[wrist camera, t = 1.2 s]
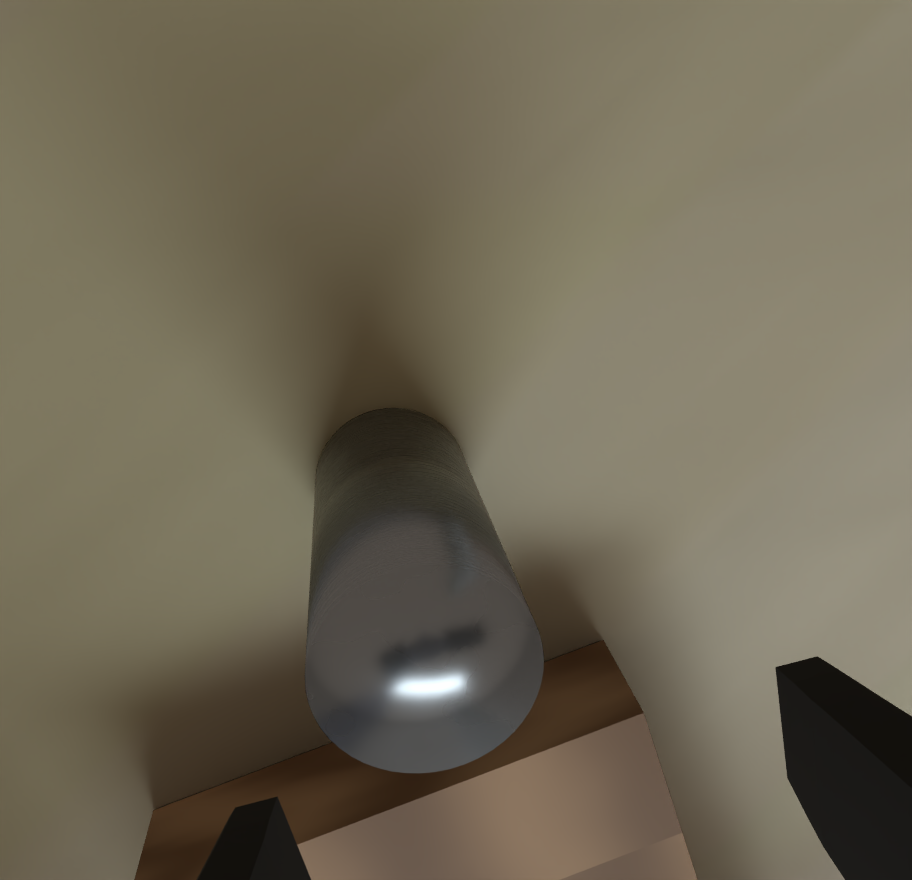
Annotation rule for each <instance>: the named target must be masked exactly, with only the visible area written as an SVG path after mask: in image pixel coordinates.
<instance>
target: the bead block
mask: <svg viewBox="0 0 912 880" xmlns="http://www.w3.org/2000/svg"><path fill="white" fill-rule="evenodd" d="M277 796H278V799H279V801H280V804H281V806H282V809H283V811H284V814H285V816H286V819H287V821H288V824H289V826H290V828H291V831H292V833H293V836H294V838H295V841H296V843H297V846H298V848H299V851H300V853H301V856H302V858H303V861H304V863H305V865H306V868H307V870H308V873H309V875H310V878H311V880H697V877H696V874H695V870H694V867H693V864H692V861H691V858H690V855H689V852H688V849H687V846H686V843H685V839H684V836H683V833H682V830H681V827H680V824H679V821H678V818H677V815H676V812H675V808H674V805H673V802H672V799H671V796H670V793H669V790H668V787H667V784H666V780H665V777H664V774H663V771H662V768H661V765H660V762H659V759H658V756H657V753H656V749H655V746H654V743H653V740H652V737H651V734H650V731H649V728H648V725H647V721H646V718H645V715H644V712H643V711H642V709H641V707H640V705H639V703H638V702H637V700H636V698H635V696H634V694H633V693H632V691H631V689H630V687H629V685H628V684H627V682H626V680H625V678H624V676H623V675H622V673H621V671H620V669H619V667H618V666H617V664H616V662H615V660H614V658H613V657H612V655H611V653H610V651H609V649H608V647H607V646H606V644H605V642H604V640H602V641H599V642H597V643H594V644H591V645H589V646H586V647H583V648H581V649H578V650H575V651H573V652H570V653H568V654H565V655H562V656H560V657H557V658H554V659H552V660H549V661H546V662H544V670H543V676H542V682H541V686H540V689H539V692H538V695H537V698H536V700H535V702H534V704H533V706H532V708H531V710H530V712H529V713H528V715H527V716H526V718H525V719H524V721H523V722H522V723H521V724H520V726H519V727H518V728H517V729H516V730H515V731H514V733H512V734H511V735H510V736H509V737H508V738H507V739H506V740H505V741H504V742H503V743H501V744H500V745H499V746H497V747H496V748H495V749H493V750H492V751H490V752H489V753H487V754H485V755H483V756H482V757H480V758H478V759H476V760H474V761H471V762H469V763H467V764H464V765H461V766H458V767H455V768H452V769H448V770H443V771H438V772H430V773H401V772H392V771H388V770H384V769H380V768H376V767H373V766H371V765H368V764H365V763H363V762H361V761H359V760H357V759H355V758H353V757H351V756H350V755H348V754H347V753H346V752H344V751H343V750H341V749H340V748H339V747H338V746H337V745H336V744H334V743H330V744H327V745H325V746H322V747H319V748H317V749H314V750H311V751H309V752H306V753H303V754H301V755H298V756H296V757H293V758H290V759H288V760H285V761H282V762H280V763H277V764H274V765H272V766H269V767H267V768H264V769H261V770H259V771H256V772H253V773H251V774H248V775H245V776H243V777H240V778H237V779H235V780H232V781H230V782H227V783H224V784H222V785H219V786H216V787H214V788H211V789H208V790H206V791H203V792H201V793H198V794H195V795H193V796H190V797H187V798H185V799H182V800H179V801H177V802H174V803H171V804H169V805H166V806H164V807H161V808H158V809H156V810H153V814H152V818H151V821H150V825H149V828H148V832H147V836H146V839H145V843H144V847H143V850H142V854H141V858H140V861H139V865H138V869H137V872H136V876H135V879H134V880H196V879H197V877H198V876H199V874H200V872H201V870H202V868H203V866H204V864H205V862H206V860H207V859H208V857H209V855H210V853H211V851H212V849H213V847H214V845H215V843H216V841H217V839H218V837H219V835H220V834H221V832H222V830H223V828H224V826H225V824H226V822H227V820H228V818H229V817H230V815H231V813H232V812H233V810H234V809H235V807H239V806H243V805H246V804H250V803H254V802H258V801H262V800H266V799H270V798H273V797H277Z"/></svg>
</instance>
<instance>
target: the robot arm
mask: <svg viewBox="0 0 912 880" xmlns="http://www.w3.org/2000/svg"><path fill="white" fill-rule="evenodd" d="M776 676H777V685H778V695H779V704H780V713H781V722H782V732H783V741H784V750H785V759H786V769H787V778H788V780H789V782H790V784H791V786H792V788H793V790H794V792H795V794H796V795H797V797H798V799H799V801H800V803H801V805H802V807H803V809H804V811H805V813H806V815H807V817H808V819H809V821H810V823H811V824H812V826H813V828H814V830H815V832H816V834H817V836H818V838H819V839H820V841H821V843H822V845H823V847H824V848H825V850H826V851H827V853H828V854H829V856H830V858H831V859H832V861H833V862H834V864H835V865H836V867H837V868H838V870H839V871H840V873H841V874H842V876H843V877H844V879H845V880H912V716H910V715H909V714H907V713H905V712H904V711H902V710H901V709H899V708H898V707H896V706H894V705H893V704H891V703H890V702H888V701H887V700H885V699H883V698H882V697H880V696H879V695H877V694H876V693H874V692H872V691H871V690H869V689H868V688H866V687H865V686H863V685H862V684H860V683H858V682H857V681H855V680H854V679H852V678H851V677H849V676H848V675H846V674H845V673H843V672H841V671H840V670H838V669H837V668H835V667H834V666H832V665H830V664H829V663H827V662H826V661H824V660H822V659H821V658H819V657H818V656H817V657H813V658H809V659H806V660H802V661H798V662H794V663H790V664H786V665H782V666H779V667H776ZM196 880H311V878H310V875H309V873H308V870H307V868H306V865H305V863H304V861H303V858H302V856H301V853H300V851H299V848H298V846H297V843H296V841H295V838H294V836H293V833H292V831H291V828H290V826H289V824H288V821H287V819H286V816H285V814H284V811H283V809H282V806H281V804H280V801H279V799H278V796H277V797H273V798H270V799H266V800H262V801H258V802H254V803H250V804H246V805H243V806H239V807H235V809H234V810H233V812H232V813H231V815H230V817H229V818H228V820H227V822H226V824H225V826H224V828H223V830H222V832H221V834H220V835H219V837H218V839H217V841H216V843H215V845H214V847H213V849H212V851H211V853H210V855H209V857H208V859H207V860H206V862H205V864H204V866H203V868H202V870H201V872H200V874H199V876H198V877H197V879H196Z"/></svg>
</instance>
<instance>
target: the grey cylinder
mask: <svg viewBox="0 0 912 880" xmlns="http://www.w3.org/2000/svg"><path fill="white" fill-rule="evenodd" d="M543 670H544V654H543V646H542V641H541V638H540V634H539V631H538V628H537V626H536V624H535V621H534V619H533V617H532V614H531V612H530V610H529V608H528V605H527V603H526V601H525V598H524V596H523V594H522V591H521V589H520V587H519V584H518V582H517V580H516V577H515V575H514V573H513V570H512V568H511V566H510V563H509V561H508V559H507V556H506V554H505V552H504V549H503V547H502V545H501V542H500V540H499V538H498V535H497V533H496V531H495V528H494V526H493V524H492V521H491V519H490V517H489V514H488V512H487V510H486V507H485V505H484V503H483V500H482V498H481V496H480V493H479V491H478V489H477V486H476V484H475V482H474V479H473V477H472V475H471V472H470V470H469V468H468V465H467V463H466V461H465V458H464V456H463V454H462V452H461V449H460V447H459V445H458V443H457V442H456V440H455V439H454V437H453V436H452V435H451V434H450V433H449V431H448V430H447V429H446V428H444V427H443V426H442V425H441V424H440V423H438V422H437V421H435V420H434V419H432V418H430V417H428V416H426V415H424V414H422V413H419V412H416V411H412V410H408V409H400V408H385V409H379V410H374V411H370V412H367V413H364V414H362V415H360V416H357V417H355V418H354V419H352V420H350V421H349V422H347V423H346V424H345V425H343V426H342V427H341V428H340V429H339V430H338V431H337V432H336V433H335V434H334V435H333V436H332V437H331V438H330V440H329V441H328V442H327V444H326V446H325V448H324V449H323V451H322V453H321V456H320V459H319V461H318V466H317V470H316V482H315V500H314V518H313V537H312V555H311V573H310V591H309V609H308V627H307V646H306V664H305V687H306V694H307V698H308V703H309V706H310V708H311V711H312V713H313V716H314V718H315V719H316V721H317V723H318V724H319V726H320V728H321V729H322V730H323V732H324V733H325V734H326V735H327V736H328V738H329V739H330V740H331V741H332V742H333V743H334V744H336V745H337V746H338V747H339V748H340V749H341V750H343V751H344V752H346V753H347V754H348V755H350V756H351V757H353V758H355V759H357V760H359V761H361V762H363V763H365V764H368V765H371V766H373V767H376V768H380V769H384V770H388V771H392V772H401V773H430V772H438V771H443V770H448V769H452V768H455V767H458V766H461V765H464V764H467V763H469V762H471V761H474V760H476V759H478V758H480V757H482V756H483V755H485V754H487V753H489V752H490V751H492V750H493V749H495V748H496V747H497V746H499V745H500V744H501V743H503V742H504V741H505V740H506V739H507V738H508V737H509V736H510V735H511V734H512V733H514V731H515V730H516V729H517V728H518V727H519V726H520V724H521V723H522V722H523V721H524V719H525V718H526V716H527V715H528V713H529V712H530V710H531V708H532V706H533V704H534V702H535V700H536V698H537V695H538V692H539V689H540V686H541V682H542V676H543Z"/></svg>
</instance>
